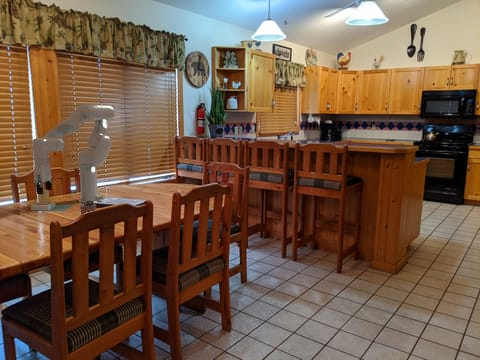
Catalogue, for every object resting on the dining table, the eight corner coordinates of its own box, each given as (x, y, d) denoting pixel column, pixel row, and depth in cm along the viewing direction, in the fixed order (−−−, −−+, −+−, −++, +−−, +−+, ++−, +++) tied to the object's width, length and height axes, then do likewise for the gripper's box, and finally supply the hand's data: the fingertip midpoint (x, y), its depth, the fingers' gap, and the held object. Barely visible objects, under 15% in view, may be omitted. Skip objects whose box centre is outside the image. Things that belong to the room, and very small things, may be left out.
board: (74, 206, 216) (74, 200, 216) (63, 212, 203) (63, 206, 202) (43, 206, 216) (43, 200, 216) (30, 212, 202) (29, 205, 202)
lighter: (94, 217, 195) (93, 198, 194) (97, 218, 193) (97, 199, 191) (79, 220, 189) (78, 201, 187) (82, 221, 187) (82, 202, 185)
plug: (49, 207, 209) (48, 189, 208) (46, 209, 205) (45, 191, 204) (41, 207, 209) (40, 189, 208) (37, 209, 205) (36, 191, 204)
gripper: (43, 159, 212) (45, 188, 215) (26, 163, 195) (29, 195, 198) (56, 159, 212) (58, 188, 215) (40, 163, 195) (43, 195, 198)
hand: (44, 192), depth 206 cm, fingers open, 9 cm apart
